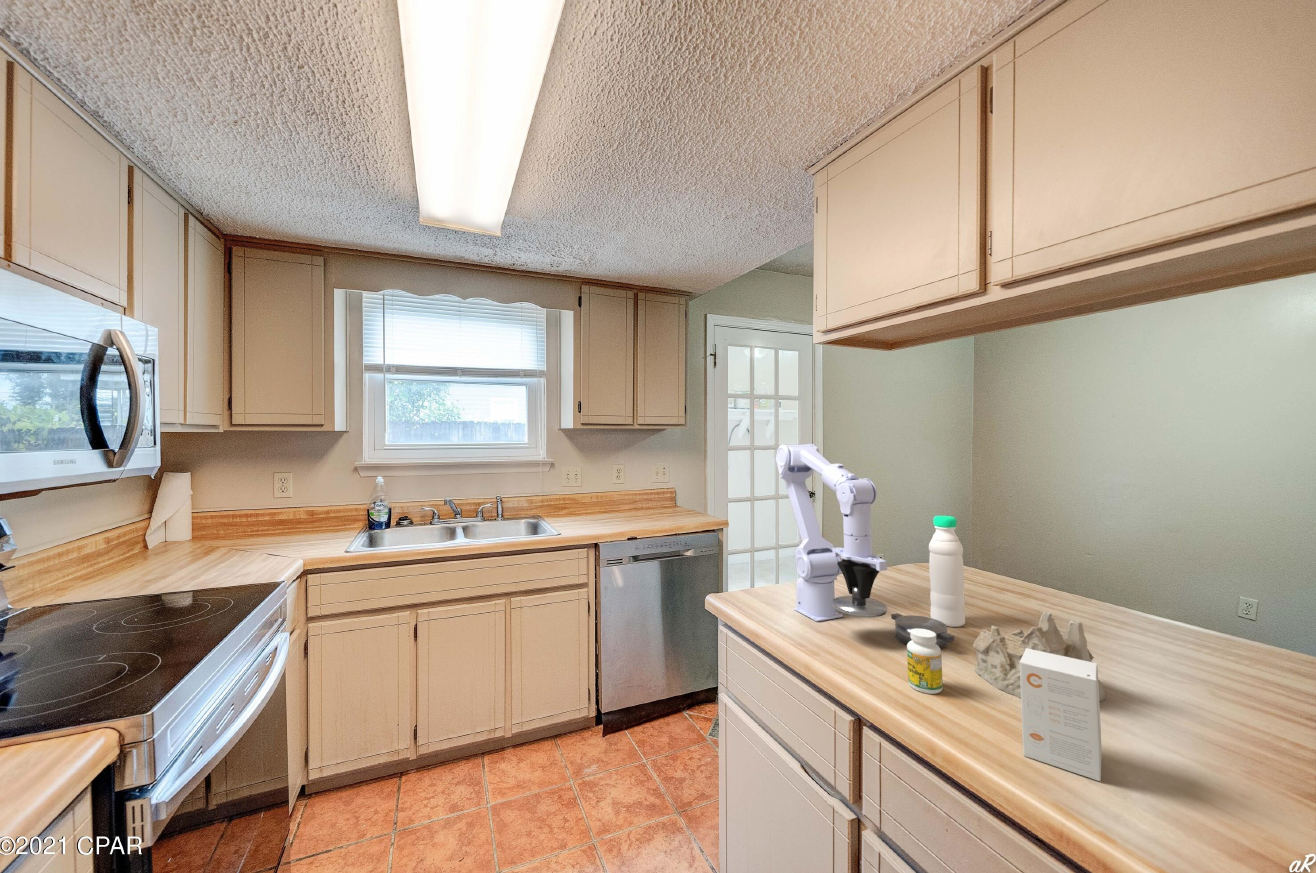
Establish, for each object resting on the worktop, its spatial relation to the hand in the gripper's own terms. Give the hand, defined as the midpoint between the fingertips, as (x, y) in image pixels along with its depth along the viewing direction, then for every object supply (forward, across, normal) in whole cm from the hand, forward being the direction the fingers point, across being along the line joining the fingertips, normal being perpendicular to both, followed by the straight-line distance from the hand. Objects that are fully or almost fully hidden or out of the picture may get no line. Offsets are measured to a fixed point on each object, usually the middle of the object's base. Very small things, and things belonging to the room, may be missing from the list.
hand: (859, 595), depth 107 cm
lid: (+3, 0, 0) cm, 3 cm away
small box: (+10, +42, -3) cm, 43 cm away
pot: (+9, +6, +11) cm, 16 cm away
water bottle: (+10, 0, +25) cm, 27 cm away
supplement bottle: (+10, +21, -4) cm, 23 cm away
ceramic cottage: (+10, +27, +15) cm, 32 cm away
